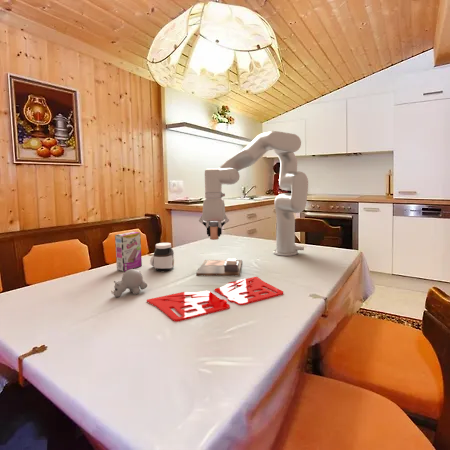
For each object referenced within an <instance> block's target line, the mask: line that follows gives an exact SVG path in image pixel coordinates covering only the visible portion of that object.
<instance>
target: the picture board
mask: <svg viewBox="0 0 450 450" xmlns="http://www.w3.org/2000/svg"><path fill="white" fill-rule="evenodd" d="M236 260H237V262H239V269H238V272H224V265H225V262H226V261H227V259H205V260H204V261H203V262H202V264H201V265H200V267H199V268H198V270H197V271H196V273H195V275H196V276H199V275H203V276H204V275H205V276H206V277H207V276H208V277H209V276H210V277H211V276H212V277H214V276H216V277H217V276H218V277H221V276H224V277H225V276H227V277H228V276H229V277H239V276H240V273H241V270H242V269H241V268H242V265H243V259H236ZM203 276H202V277H203Z"/></svg>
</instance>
